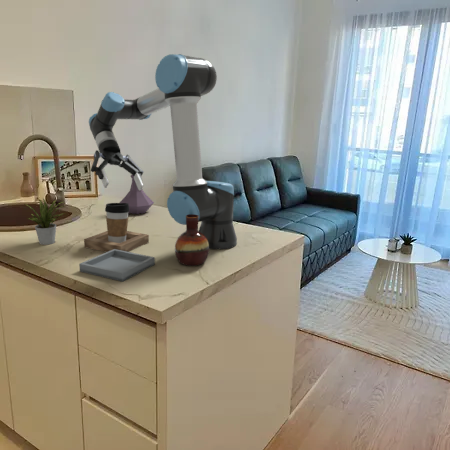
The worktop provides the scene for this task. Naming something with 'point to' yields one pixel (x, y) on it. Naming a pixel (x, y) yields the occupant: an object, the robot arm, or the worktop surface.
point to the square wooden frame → (103, 244)
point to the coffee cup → (117, 221)
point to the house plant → (45, 223)
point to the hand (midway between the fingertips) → (124, 186)
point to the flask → (137, 199)
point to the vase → (192, 244)
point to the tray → (117, 264)
